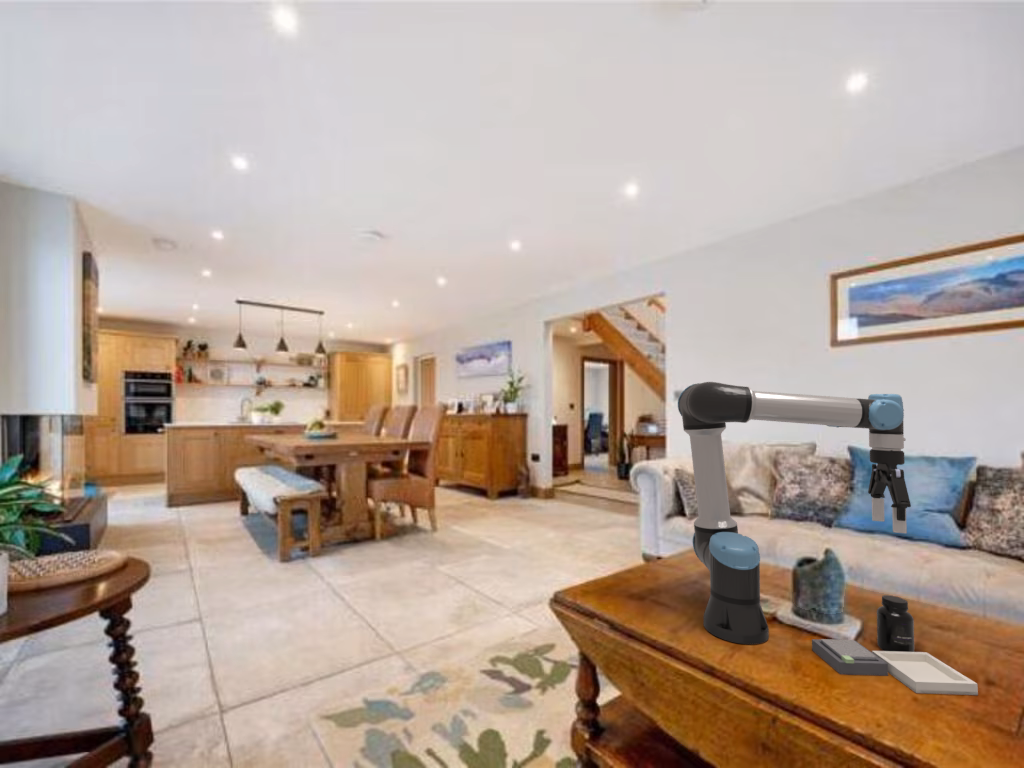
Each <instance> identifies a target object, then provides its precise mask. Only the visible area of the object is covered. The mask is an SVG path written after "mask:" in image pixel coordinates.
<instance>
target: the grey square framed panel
mask: <svg viewBox="0 0 1024 768" xmlns="http://www.w3.org/2000/svg"><path fill="white" fill-rule="evenodd" d="M821 639H822V638H820V639H817V638H815V639H813V638H811V650H812V652H813V653H815V654H816V655H817V656H818V657H819V658H820V659H822V660H823V661H824V662H825V663H827V665H829V666H830V667H831V668H832V669H833V670H834V671H836V672H837V673H838V674H839V675H854V676H858V675H859V676H884V677H888V676H889V673H888V664H887V663H886V662H884V661H883V660H882V659H880V658H879V657H878V656H876V655H875V654H873V653H872V650H869V649H868V648H866V647H865V646H864V645H862V644H861V643H860V642H858V641H857V640H855V639H853V640H854V641H855V642H857V643H858V644H859V645H861V646H862V647H864V648H865V649H866V650H868V651H869V652H871V653H872V654H873V655H875V656H876V657H877V661H860V660H854V659H853V658H851V657H850V656H842V655H841V658H842V660H841V659H840V658H838V657H837V656H836V655H835V654H834V653H832V652H831V651H830V650H829V649H827V648H826V647H825V646H824V645H822V644H821Z"/></svg>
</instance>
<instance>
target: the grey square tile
mask: <svg viewBox="0 0 1024 768" xmlns="http://www.w3.org/2000/svg"><path fill="white" fill-rule="evenodd" d="M820 639H821V644H822V645H824V646H825V647H826V648H827V649H829V650H830V651H831V652H832V653H834V654H835V655H836V656H837V657H838V658H840V659H841V660H842V658H841V655H842V656H850V657H851V658H853V659H854V660H860V661H877V657H876V656H875V655H873V654H872V653H871V652H872V651H871V652H869V651H870V650H869V649H868V650H869V651H868V650H866V649H867V648H866V647H865V646H864V647H865V648H866V649H865V648H864V647H862V646H863V645H862V644H861V645H862V646H861V645H859V644H860V643H859V642H858V641H857V642H858V643H859V644H858V643H857V642H855V641H856V640H855V639H834V638H833V639H830V638H827V639H826V638H825V639H824V638H820ZM854 640H855V641H854Z"/></svg>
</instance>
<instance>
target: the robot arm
mask: <svg viewBox="0 0 1024 768" xmlns="http://www.w3.org/2000/svg"><path fill="white" fill-rule="evenodd" d="M677 410H678V413H679V414H680V416H681V418H682V420H681V421H682V427H683V428H682V429H683V431H684V432H685V433H686V434H687V435H688V436H689V440H690V449H691V458H692V468H693V478H694V486H695V496H696V506H697V514H698V515H697V516H698V517H697V518H696V519H695V520H694V521H693V527H694V533H693V535H692V548H693V552H694V553H695V556H696V558H698V559H699V561H700V562H701V563H702V564H704V566H705V567H706V569H708V571H709V576H710V577H709V583H710V585H709V588H710V591H709V593H710V595H709V599H708V601H707V604H706V607H705V611H704V613H703V627H704V629H705V630H706V631H707V632H708V633H710V634H711V635H713V636H715V637H717V638H719V639H721V640H724V641H727V642H731V643H735V644H741V645H759V644H763V643H766V642H767V641H768V640H769V638H770V637H769V635H770V634H769V625H768V623H767V619H766V616H765V614H764V611H763V608H762V605H761V574H760V573H761V571H760V566H761V564H760V562H761V556H760V549H759V545H758V543H757V542H756V541H755V540H754V539H752V538H751V537H750V536H747V535H743V534H741V533H739V528H738V523H737V521H736V520H735V519H734V518H733V517H731V511H730V509H731V508H730V501H729V492H728V491H729V490H728V484H727V476H726V466H725V457H724V448H723V441H722V438H723V437H722V434H723V432H724V431H725V430H726V428H727V424H726V423H743V424H744V423H745V424H747V423H748V422H749V421H751V420H753V421H767V422H769V421H770V422H779V423H780V422H781V423H794V424H807V425H820V426H827V427H830V428H855V429H868V441H869V442H868V445H869V446H868V447H870V450H869V461H870V463H872V464H871V475H870V480H869V485H868V490H867V493H868V495H869V494H870V497H871V518H872V519H871V521H872V522H885V499H886V496H885V491H886V488H887V489H888V492H889V495H890V498H891V501H892V504H891V505H890V507H891V508H892V510H891V511H892V513H891V514H892V515H891V516H892V532H893V533H898V534H907V531H908V529H907V524H908V523H907V509H908V508H911V506H912V505H911V500H910V497H909V492H908V488H907V484H906V480H905V471H904V469H898V466H899V465H900V466H901V465H904V464H905V463H906V462H905V451H903V449H904V448H905V441H906V438H905V437H904V432H905V431H904V428H905V427H904V418H905V413H904V411H905V410H904V401H903V397H902V396H901V395H900V394H897V393H873V394H869V395H868V398H855V397H843V396H830V395H829V396H826V395H813V394H801V393H799V394H798V393H785V392H772V391H771V392H770V391H757V390H752V388H751V387H749V386H741V385H734V384H733V385H732V384H728V383H721V382H715V381H704V382H699V383H693V384H691V385H688V386H687V387H685V389H683V390H682V392H681V393H680V394H679V396H678V400H677Z"/></svg>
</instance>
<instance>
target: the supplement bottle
mask: <svg viewBox="0 0 1024 768" xmlns="http://www.w3.org/2000/svg"><path fill="white" fill-rule="evenodd" d="M881 605H882V606H879V607H878V608H877V609H876V639H877V640H876V642H877V646H878V647H879V648H880V650H881V651H898V652H915V621H914V617H913V616H912V614H911V613H910V612H909V602H908V601H907V600H906V599H904V598H902V597H898V596H894V595H890V594H889V595H888V594H887V595H886V594H885V595H882V596H881Z"/></svg>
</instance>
